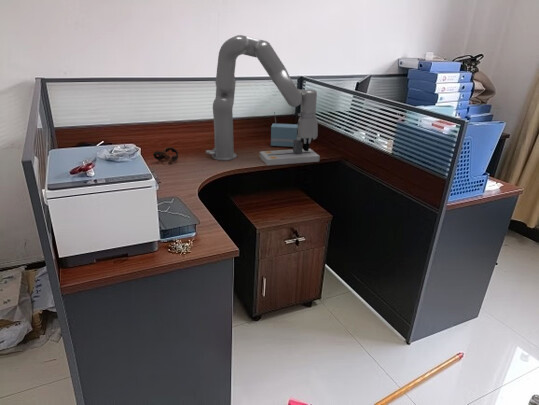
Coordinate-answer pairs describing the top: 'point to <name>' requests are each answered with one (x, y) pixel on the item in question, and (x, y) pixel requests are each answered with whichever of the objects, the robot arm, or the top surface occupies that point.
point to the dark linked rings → (166, 155)
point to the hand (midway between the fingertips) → (305, 150)
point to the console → (288, 157)
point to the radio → (283, 134)
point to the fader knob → (297, 146)
